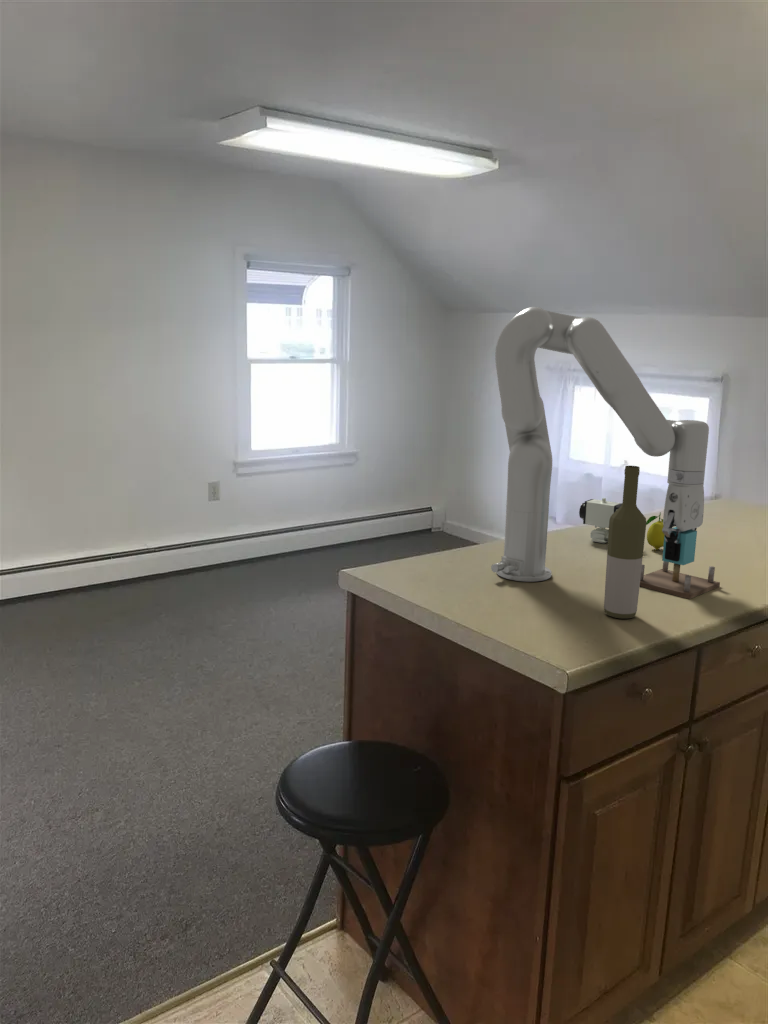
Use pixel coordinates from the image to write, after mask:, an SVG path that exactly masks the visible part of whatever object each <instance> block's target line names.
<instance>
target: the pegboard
mask: <svg viewBox="0 0 768 1024" xmlns="http://www.w3.org/2000/svg"><path fill="white" fill-rule="evenodd" d="M669 564H670V562H666V561H663V562H662V568H659V569H658V570H655V571H652V572H649V573H647V574H645V564H643V563H642V569H641V578H640V587H641V588H645V589H649V590H653V591H656V592H661V593H665V594H667V595H673V596H676V597H680V598H683V599H688V600H691V599H693V598H695V597H697V596H700V595H703V594H705V593H707V592H710V591H713V590H715V589H718V588H719V587H720V585H721V582H720V581H717V580H715V571H716V567H715V566H713V565H712V566H711V565H710V566H709V567H708V573H707V574H708V575H707V576H708V577H707V578H703V577H700V576H695V575H690V574H687V573H682V572H681V565H679V564H675V563H673V568H672V569H673V570H669Z"/></svg>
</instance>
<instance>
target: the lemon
mask: <svg viewBox="0 0 768 1024" xmlns="http://www.w3.org/2000/svg"><path fill="white" fill-rule="evenodd" d="M661 514H662V512H659V515H658V516H657V515H652V516H650V517H648V518H647V519H646V526H647V525H649V524H650V523H651V522H653V521H654V520H656V519H657V518H658V520H657V521H655V522H653V523H652V524H650V526H649V527H648V530H647V533H646V541H647V543H648V545H650V546H651V547H653V548H654V549H655V550H659V549H661V548H663V546H664V533H663V532H662V529H663V518H661Z"/></svg>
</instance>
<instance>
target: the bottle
mask: <svg viewBox="0 0 768 1024" xmlns="http://www.w3.org/2000/svg"><path fill="white" fill-rule="evenodd" d="M623 473H624V479H623V480H624V482H623V493H622V502H621V503H622V505H621V507H620V508H619V509H617V510H616V511H615V512H614V513H613V514H612V515H611V517H610V520H609V528H608V529H609V533H608V542H607V549H606V551H607V552H606V553H607V554H606V567H605V583H604V600H603V611H604V613H605V615H607V616H609V617H612V618H615V619H621V620H623V619H626V620H627V619H631V618H635V617H636V614H637V611H638V606H639V605H638V603H639V594H640V587H641V586H640V578H641V569H642V564H643V560H644V558H643V557H644V549H645V539H646V530H647V525H646V522H647V518H646V516H645V515H644V514H643V512H642V511H641V510H640V509H639V508H638V506H637V498H638V489H639V488H638V487H639V486H638V485H639V476H640V473H641V472H640V466H637V465H625V467H624V472H623Z"/></svg>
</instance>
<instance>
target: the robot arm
mask: <svg viewBox="0 0 768 1024" xmlns="http://www.w3.org/2000/svg"><path fill="white" fill-rule="evenodd" d="M538 348H539V349H543V350H549V351H553V352H558V353H564V354H569V355H572V356H574V358H575V359H576V361H577V363H578V364H579V365H580V367H581V368H582V370H583V371H584V373H585V374H586V376H587V377H588V378H589V380H590V381H591V383H592V384H593V386H594V387H595V389H596V390H597V392H598V393H599V395H600V396H601V398H602V399H603V400H604V401H605V402H606V403H607V404H608V405H609V406H610V407H611V408H612V410H614V412H615V413H616V415H618V417H619V418H620V421H622V423H623V424H624V426H625V427H626V429H628V431H629V433H630V434H631V435H632V437H633V440H634V442H635V444H636V445H637V446H638V447H639V449H640V450H641V451H642V452H643V453H644V454H645V455H648V456H651V457H661V456H665V455H667V454H668V453H669V459H668V472H667V485H668V486H667V489H666V494H665V502H664V508H663V515H662V516H663V518H662V519H663V529H662V532H663V533H664V535H665V537H666V538H665V541H666V548H665V559H667V560H672V561H679V558H680V547H681V544H679V541H680V536H681V532H682V531H683V532H684V531H688V530H695V531H697V529H698V528H699V527H700V528H701V526H702V525H703V522H704V512H705V511H704V510H705V509H704V508H705V490H704V489H705V487H704V485H705V484H704V483H705V474H706V464H707V453H708V445H709V444H708V443H709V434H710V427H709V424H708V423H707V422H705V421H701V420H694V419H693V420H692V419H691V420H690V419H680V420H673V419H672V420H671V419H667V418H666V417H665V415H664V414H663V413H662V411H661V410H660V408H659V407H658V405H657V404H656V402H655V401H654V400H653V397H652V396H651V395H650V393H649V392H648V391H647V389H646V388H645V386H644V385H643V383H642V380H641V379H640V378H639V376H638V374H637V373H636V371H635V370H634V368H633V367H632V366H631V364H630V363H629V361H628V360H627V358H626V357H625V356H624V354H623V352H622V351H621V350H620V349H619V347H618V345H617V344H616V342H615V340H614V339H613V338H612V337H611V335H610V334H609V332H608V331H607V329H606V328H605V326H604V324H602V323H601V322H600V321H599V320H597V318H593V317H589V316H587V317H582V316H576V315H575V316H574V315H569V314H564V313H559V312H555V311H550V310H545V309H544V308H541V307H540V306H539V307H538V306H530V307H526V308H524V309H523V310H521V311H520V312H519V313H516V315H515V316H513V317H512V318H511V319H510V320H509V321H508V322H507V323H506V325H505V326H504V327H503V328H502V330H501V332H500V335H499V336H498V339H497V342H496V346H495V354H494V355H495V358H494V359H495V368H496V369H495V370H496V376H497V382H498V383H497V384H498V385H497V386H498V390H499V391H498V392H499V397H500V405H501V417H502V419H503V422H504V426H505V432H506V437H507V438H506V439H507V443H508V449H509V455H508V462H507V487H506V488H507V489H506V490H507V492H506V504H505V505H506V506H505V507H506V509H505V511H506V512H505V525H504V527H505V528H504V543H503V544H504V546H503V548H504V549H503V556H501V560H500V561H499V562H496V563H493V564H492V565H491V566H490V567H491V568H490V569H491V571H492V572H493V573H496V574H497V575H498V576H499V577H501V578H503V579H507V580H511V581H515V582H528V583H530V582H531V583H532V582H543V581H546V580H548V579H550V578H551V577H552V573H553V571H552V570H551V569H550V568H549V567H547V566H546V560H547V559H546V557H547V542H548V540H547V539H548V528H549V527H548V526H549V515H550V514H549V512H550V493H551V482H552V481H551V480H552V473H553V452H552V448H551V443H550V436H549V430H548V424H547V418H546V411H545V403H544V401H543V399H542V397H541V394H540V388H539V383H538V379H537V370H536V361H535V355H536V351H537V349H538ZM674 527H677V529H674ZM672 531H674V532H677V533H676V536H675V534H674V533H672Z"/></svg>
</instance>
